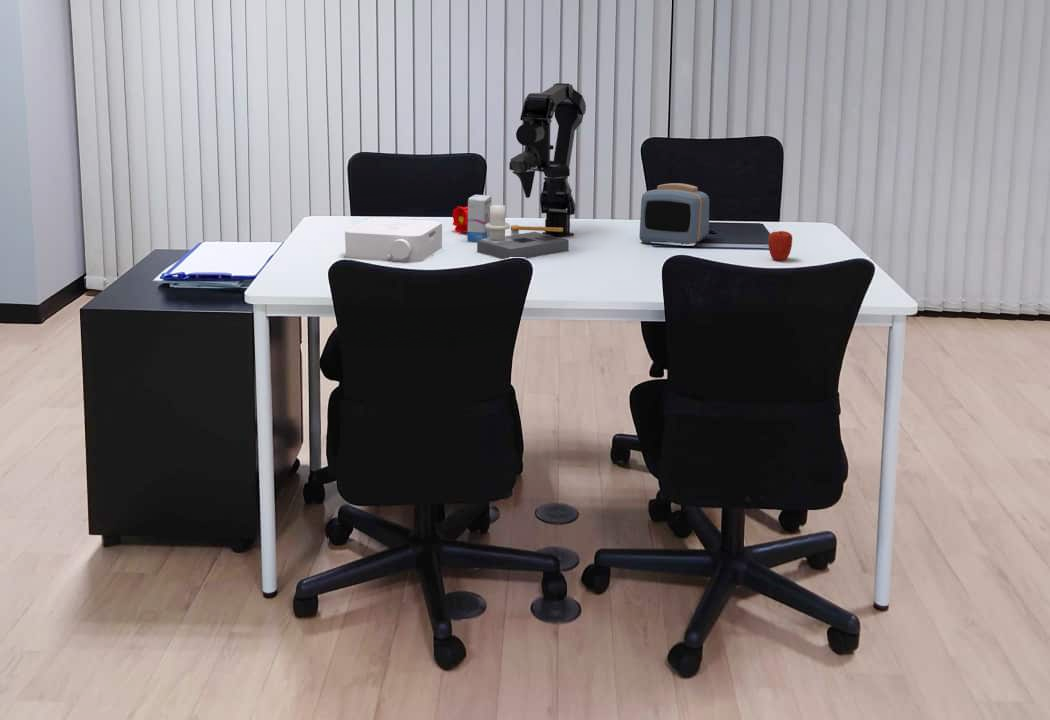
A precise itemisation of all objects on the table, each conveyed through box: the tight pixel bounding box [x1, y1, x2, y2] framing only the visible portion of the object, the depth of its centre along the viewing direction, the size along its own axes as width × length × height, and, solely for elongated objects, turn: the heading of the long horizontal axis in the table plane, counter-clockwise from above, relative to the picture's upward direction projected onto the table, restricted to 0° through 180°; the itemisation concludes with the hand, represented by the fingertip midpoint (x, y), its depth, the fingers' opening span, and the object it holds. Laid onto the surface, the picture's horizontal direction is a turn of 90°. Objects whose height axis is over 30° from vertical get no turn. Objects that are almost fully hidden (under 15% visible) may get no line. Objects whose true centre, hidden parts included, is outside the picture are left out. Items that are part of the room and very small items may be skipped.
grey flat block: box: [476, 229, 570, 260], centre depth 362 cm, size 20×15×4 cm
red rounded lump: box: [767, 230, 793, 262], centre depth 354 cm, size 6×6×8 cm
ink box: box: [467, 194, 492, 243], centre depth 376 cm, size 9×5×12 cm, turn 168°
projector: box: [344, 217, 443, 263], centre depth 360 cm, size 21×22×7 cm
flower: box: [452, 205, 468, 234], centre depth 387 cm, size 8×8×8 cm
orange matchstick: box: [510, 224, 563, 232], centre depth 367 cm, size 14×2×1 cm, turn 80°
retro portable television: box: [639, 182, 710, 245], centre depth 375 cm, size 16×16×16 cm
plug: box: [485, 204, 511, 241], centre depth 360 cm, size 6×6×9 cm
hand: (538, 199), depth 366 cm, fingers open, 9 cm apart
